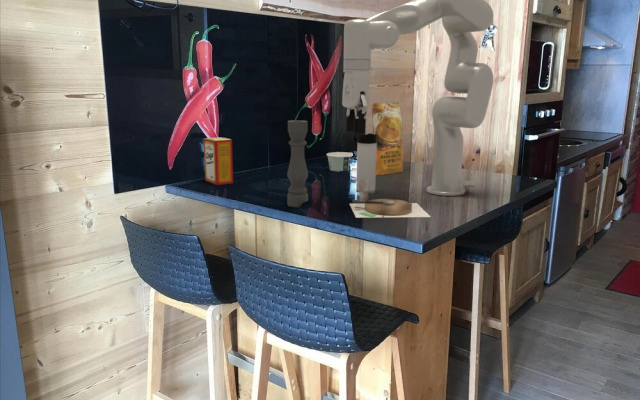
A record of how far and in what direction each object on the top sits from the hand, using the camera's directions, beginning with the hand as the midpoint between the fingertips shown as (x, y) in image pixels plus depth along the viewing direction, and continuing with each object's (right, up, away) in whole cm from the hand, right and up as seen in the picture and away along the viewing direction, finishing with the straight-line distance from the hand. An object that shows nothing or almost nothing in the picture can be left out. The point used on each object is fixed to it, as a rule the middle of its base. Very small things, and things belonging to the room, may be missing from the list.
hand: (355, 131), depth 154 cm
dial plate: (+9, -24, -3) cm, 25 cm away
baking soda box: (-47, -13, +43) cm, 65 cm away
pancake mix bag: (+17, -9, +64) cm, 67 cm away
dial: (+7, -22, -3) cm, 23 cm away
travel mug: (+5, -17, +27) cm, 32 cm away
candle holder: (-17, -21, +9) cm, 28 cm away
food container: (-1, -7, +71) cm, 71 cm away
